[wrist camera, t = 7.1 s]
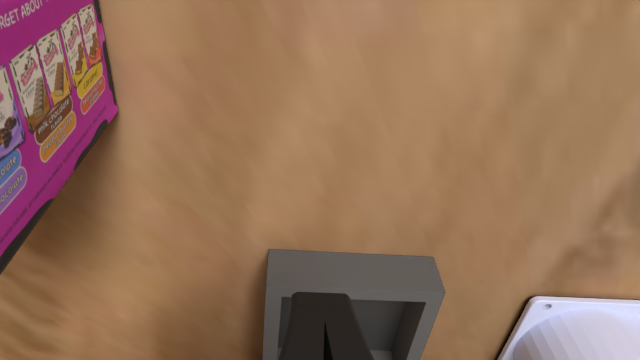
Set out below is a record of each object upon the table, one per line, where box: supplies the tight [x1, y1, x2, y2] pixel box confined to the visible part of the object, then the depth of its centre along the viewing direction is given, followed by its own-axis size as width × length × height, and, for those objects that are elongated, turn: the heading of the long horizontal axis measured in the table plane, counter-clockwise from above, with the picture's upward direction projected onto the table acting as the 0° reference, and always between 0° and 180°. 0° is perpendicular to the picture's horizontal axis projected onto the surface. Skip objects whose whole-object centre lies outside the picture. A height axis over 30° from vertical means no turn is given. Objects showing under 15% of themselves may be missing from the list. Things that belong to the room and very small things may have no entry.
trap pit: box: [262, 249, 445, 360], centre depth 26 cm, size 9×9×2 cm
